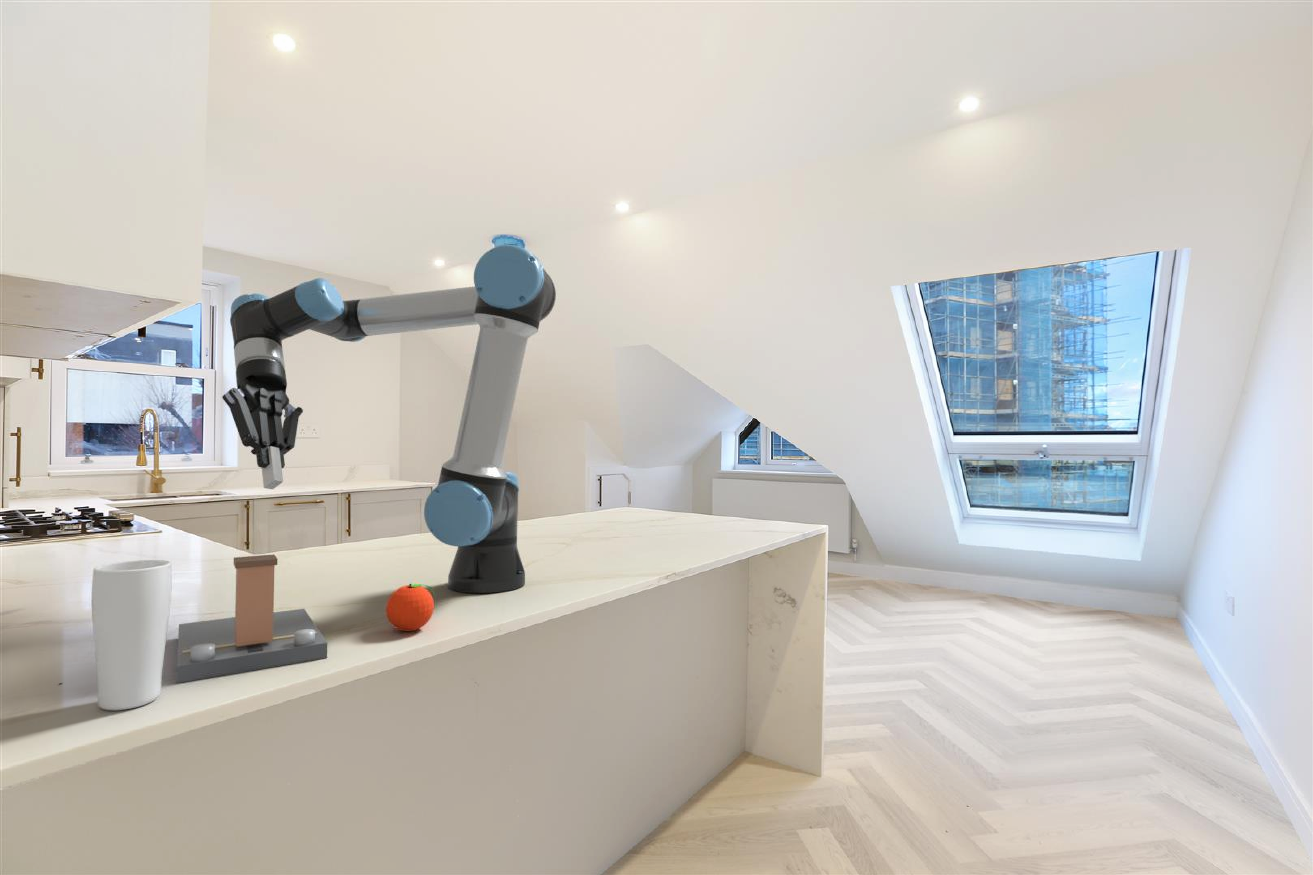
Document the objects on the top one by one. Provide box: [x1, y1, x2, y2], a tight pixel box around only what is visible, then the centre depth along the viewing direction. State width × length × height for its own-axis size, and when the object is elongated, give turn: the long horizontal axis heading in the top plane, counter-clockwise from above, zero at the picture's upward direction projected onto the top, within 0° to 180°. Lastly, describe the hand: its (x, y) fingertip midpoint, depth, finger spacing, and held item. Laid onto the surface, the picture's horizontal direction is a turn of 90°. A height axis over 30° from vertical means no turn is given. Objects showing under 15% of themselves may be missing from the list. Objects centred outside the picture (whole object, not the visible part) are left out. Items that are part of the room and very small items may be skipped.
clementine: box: [385, 583, 436, 632], centre depth 98 cm, size 8×7×7 cm
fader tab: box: [233, 554, 279, 647], centre depth 83 cm, size 5×4×11 cm
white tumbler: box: [90, 559, 173, 711], centre depth 69 cm, size 7×7×15 cm
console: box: [176, 608, 328, 684], centre depth 88 cm, size 16×21×4 cm
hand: (273, 484), depth 103 cm, fingers closed
